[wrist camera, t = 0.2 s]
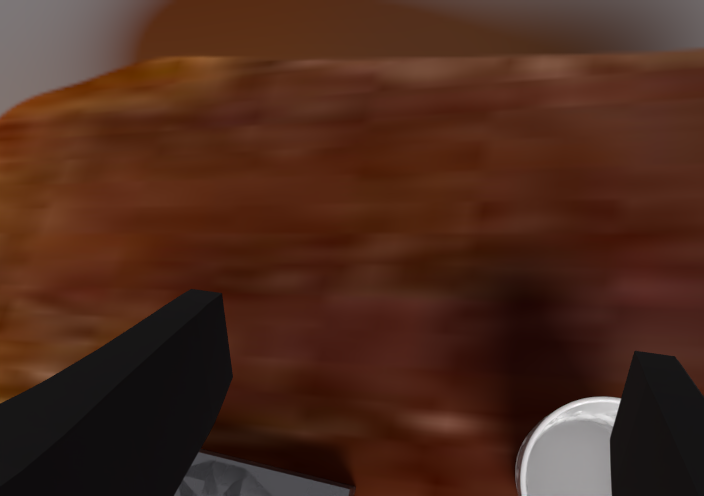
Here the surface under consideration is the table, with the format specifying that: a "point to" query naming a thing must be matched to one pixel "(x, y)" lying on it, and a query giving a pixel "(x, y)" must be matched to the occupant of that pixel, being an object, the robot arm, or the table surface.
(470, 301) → the table surface
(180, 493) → the hole plate
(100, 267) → the table surface
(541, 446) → the white cup
